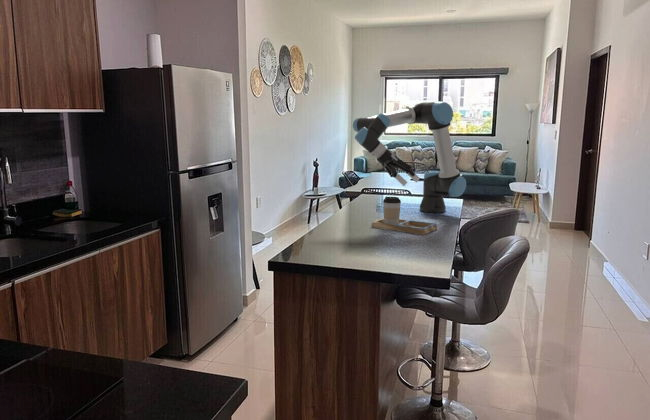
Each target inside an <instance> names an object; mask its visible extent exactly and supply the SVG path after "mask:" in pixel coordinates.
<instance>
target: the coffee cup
mask: <svg viewBox="0 0 650 420" xmlns="http://www.w3.org/2000/svg"><path fill="white" fill-rule="evenodd" d="M401 203H402V200H401V199H400V197H399V196H398V197H397V196H387V195H386V196H385V198H384V199H383V201H382V204H383V206H382V207H383V208H382V209H383V218H384V223H385V224H392V225H397V224H398V221H399V219H400V216H401V215H400V213H401Z"/></svg>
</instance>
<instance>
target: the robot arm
mask: <svg viewBox="0 0 650 420" xmlns="http://www.w3.org/2000/svg"><path fill="white" fill-rule="evenodd" d="M453 117H454V110H453V108H452V105H451V104H449V103H448V102H446V101H440V100H439V101H429V102H427V101H425V102H420V103H416V104H413V105H408V106H406V107H405V108H404V109H399V110H396V111H389V112H385V113H378V114H376V115H371V116H367V117H359V118H358V117H357V118H356V119H354V120H353V122H352V128H353V130H354V132H356V134H355V136H354V139H355V141H356V142H357V143H358V144H359V145H360V146H361V147H362V148H364V149H365V151H367V152H368V153H369V154H370V156H371V157H373V158H375V159H376V161H377V162H379V164H380V165H381V166H382V167H383V168H384V169H385V172H386V173H387V174H388V175H389V176H390V178H394V179H396V181H398V182H399V184H401V185H402V186H403V187H405V186H406V185H407V183H408V181H407V180H406V179H405V178H404V177H403V176H402V175H400V173H399V172H397V170H396V169H399V170H402V171H403V172H405V173H406V175H407V176H409V177H410V178H411V179H412V180H413V181H414V182H415V183H418V182H419V180H420V179H421V178H420V176H418V174H416V173H415V172H414V171H413V170H412V168H413V167H412V165H410V164H408V163H407V162H405V161H403V160H401V159H400V158H399V157H398V156H396V155H394V156H392V154H393V153H392V152H391V150H389V148H387V147H386V146H385V144H383V143H382V142H381V141H380V140H379V138H380V137H381V136H382V135H383V133H384V132H386V130H387V129H388V128H391V127H395V126H400V125H404V124H408V125H412V124H420V125H421V124H423V125H424V124H426V125H427V127H428V130H429V131H430V132H432V137H433V142H434V145H435V152H436V157H437V161H438V167H439V170H440V171H429V172H425V173H424V175H423V191H422V193H423V195H422V200H421V202H420V205H419V211H421V212H424V213H431V214H432V213H435V214H437V213H440V214H441V213H444V212H446V208H447V207H446V204H445V200H444V199H445V198H444V196H446V197H447V196H448V197H451V198H453V197H454V198H457V197H461V196H462V195H463V194H464V192H465V191H466V188H467V180H466V178H465V177H463V176H462V175H461V172H460V170H459V169H457V167H456V160H455V156H454V151H453V146H452V145H453V144H452V141H451V135H450V131H449V130H450V129H449V127H451V123H452V120H453V119H454V118H453Z"/></svg>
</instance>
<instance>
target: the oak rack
mask: <svg viewBox="0 0 650 420" xmlns="http://www.w3.org/2000/svg"><path fill="white" fill-rule="evenodd" d="M437 225H438V224H437V223H435V222H427V221H420V220H413V219H401V218H399V221H398V224H397V225H392V224H385V223H384V217H383V218H380V219H377V220H374V221H371V228H377V229H383V230H389V231H395V230H396V232H404V233H408V234H409V233H410V234H416V235H423V236H424V235H426V234H428V233H429V234H430V232H433V231H436V230H437V227H438V226H437Z"/></svg>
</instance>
